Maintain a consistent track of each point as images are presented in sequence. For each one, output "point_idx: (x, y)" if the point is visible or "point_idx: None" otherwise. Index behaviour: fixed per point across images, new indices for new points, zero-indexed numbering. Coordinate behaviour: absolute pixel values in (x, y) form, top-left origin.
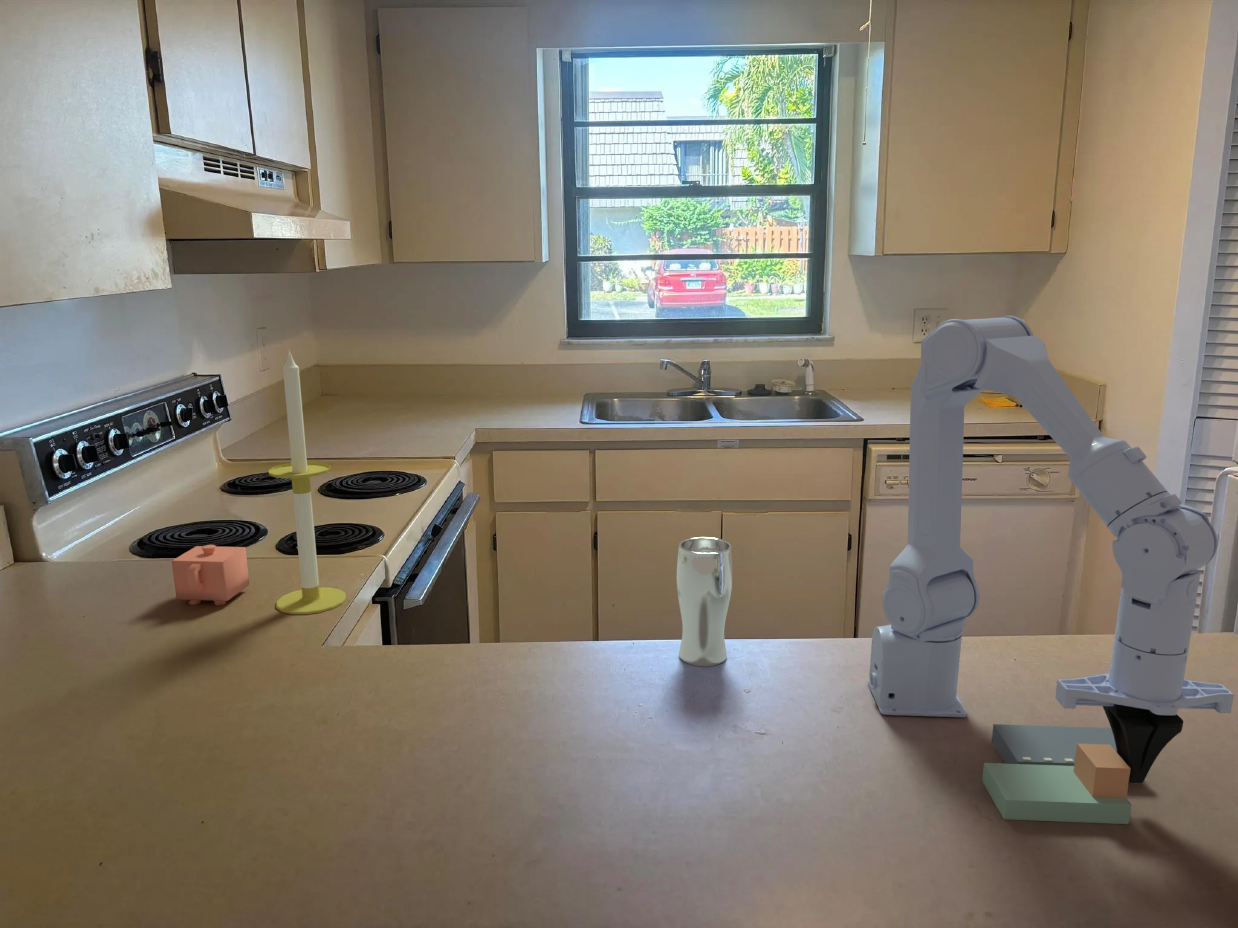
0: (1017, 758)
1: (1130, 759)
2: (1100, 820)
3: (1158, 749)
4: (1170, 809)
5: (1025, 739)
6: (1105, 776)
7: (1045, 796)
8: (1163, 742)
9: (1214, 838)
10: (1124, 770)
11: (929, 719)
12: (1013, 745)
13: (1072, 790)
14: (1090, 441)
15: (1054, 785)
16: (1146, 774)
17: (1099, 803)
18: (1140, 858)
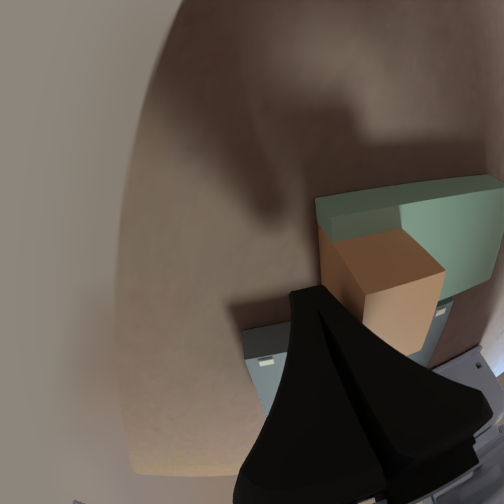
0: (449, 307)
1: (364, 325)
2: (371, 191)
3: (298, 376)
4: (211, 272)
5: (409, 357)
6: (410, 261)
7: (471, 207)
8: (294, 405)
9: (146, 197)
10: (379, 285)
11: (447, 358)
12: (433, 337)
13: (425, 240)
14: None
15: (443, 248)
16: (294, 306)
17: (398, 205)
18: (328, 79)
